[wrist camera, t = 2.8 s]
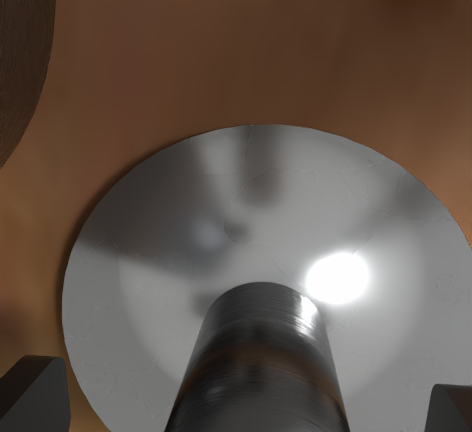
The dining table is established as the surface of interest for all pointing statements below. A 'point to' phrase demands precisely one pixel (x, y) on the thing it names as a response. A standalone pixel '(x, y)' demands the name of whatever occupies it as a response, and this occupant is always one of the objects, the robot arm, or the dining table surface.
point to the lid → (268, 289)
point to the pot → (22, 65)
